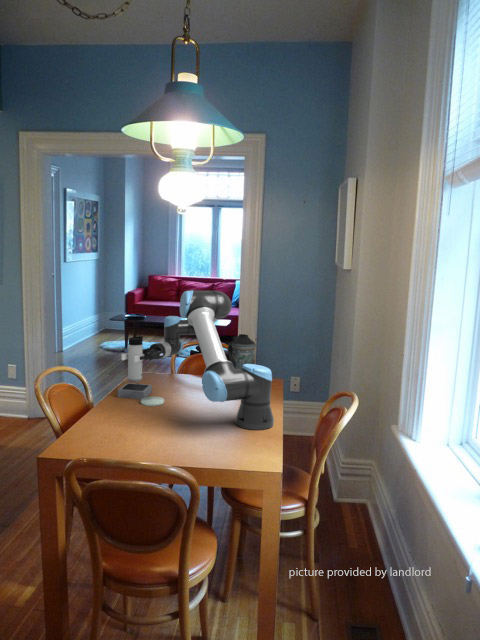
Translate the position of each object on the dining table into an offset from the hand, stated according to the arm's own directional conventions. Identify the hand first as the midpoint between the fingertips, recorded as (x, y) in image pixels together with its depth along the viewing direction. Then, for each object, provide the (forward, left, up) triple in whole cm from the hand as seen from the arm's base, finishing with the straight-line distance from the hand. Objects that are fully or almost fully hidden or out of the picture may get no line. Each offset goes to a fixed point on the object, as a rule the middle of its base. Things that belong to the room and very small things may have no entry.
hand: (128, 358), depth 223 cm
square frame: (+5, -2, -18) cm, 19 cm away
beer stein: (+39, -45, -18) cm, 62 cm away
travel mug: (+5, -2, -11) cm, 12 cm away
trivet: (-4, -13, -18) cm, 22 cm away
